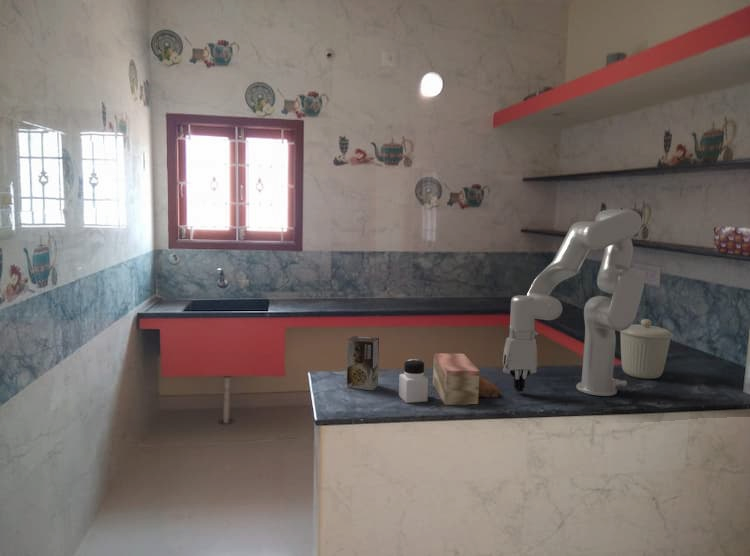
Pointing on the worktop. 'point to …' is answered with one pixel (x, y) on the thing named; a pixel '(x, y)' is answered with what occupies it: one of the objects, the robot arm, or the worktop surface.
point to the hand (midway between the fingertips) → (518, 390)
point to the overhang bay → (455, 379)
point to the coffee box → (362, 362)
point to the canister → (644, 350)
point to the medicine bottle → (413, 382)
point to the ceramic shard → (487, 389)
